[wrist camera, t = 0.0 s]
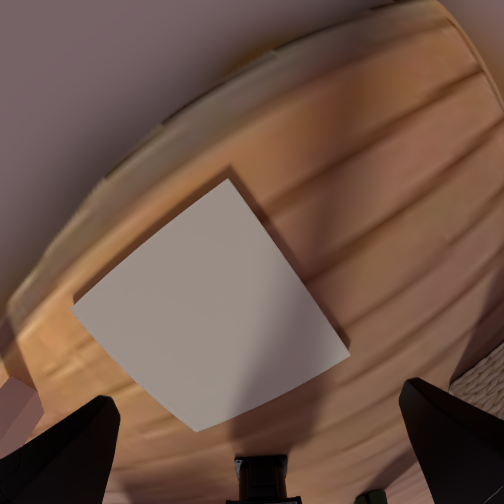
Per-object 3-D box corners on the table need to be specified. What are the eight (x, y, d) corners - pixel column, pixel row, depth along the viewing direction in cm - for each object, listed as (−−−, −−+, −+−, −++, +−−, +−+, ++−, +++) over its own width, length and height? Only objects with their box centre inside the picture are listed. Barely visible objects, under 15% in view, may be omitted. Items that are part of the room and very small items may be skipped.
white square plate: (348, 350, 24) (350, 355, 23) (196, 427, 26) (196, 432, 25) (228, 178, 20) (227, 178, 19) (73, 305, 22) (69, 309, 21)
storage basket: (499, 408, 31) (534, 453, 17) (433, 456, 32) (462, 511, 18) (518, 318, 25) (582, 368, 11) (436, 383, 26) (495, 464, 12)
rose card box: (37, 390, 25) (-7, 451, 13) (44, 412, 27) (8, 470, 15) (11, 375, 25) (-34, 428, 13) (19, 398, 26) (-19, 450, 14)
